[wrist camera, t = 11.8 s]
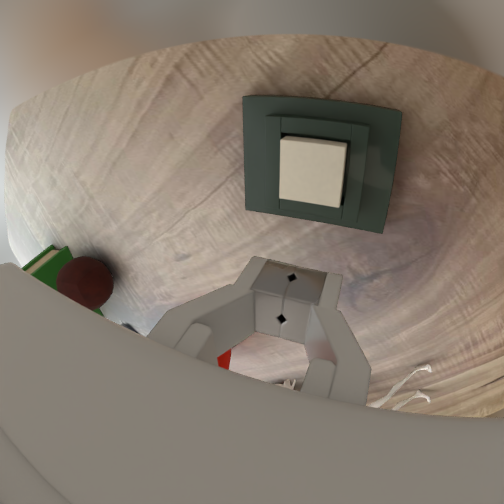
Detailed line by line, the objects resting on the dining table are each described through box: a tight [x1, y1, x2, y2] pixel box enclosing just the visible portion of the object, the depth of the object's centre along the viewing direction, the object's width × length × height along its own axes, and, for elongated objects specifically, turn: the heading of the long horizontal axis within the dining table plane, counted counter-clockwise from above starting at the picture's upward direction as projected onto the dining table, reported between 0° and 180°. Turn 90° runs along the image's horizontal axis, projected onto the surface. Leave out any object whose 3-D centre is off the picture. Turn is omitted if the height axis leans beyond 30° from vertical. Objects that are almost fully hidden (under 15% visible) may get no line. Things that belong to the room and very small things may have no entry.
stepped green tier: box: [243, 95, 402, 234], centre depth 21 cm, size 10×12×4 cm
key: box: [279, 136, 347, 208], centre depth 19 cm, size 4×4×2 cm
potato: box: [56, 256, 113, 311], centre depth 40 cm, size 9×12×9 cm
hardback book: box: [21, 245, 104, 317], centre depth 42 cm, size 18×7×24 cm, turn 10°
